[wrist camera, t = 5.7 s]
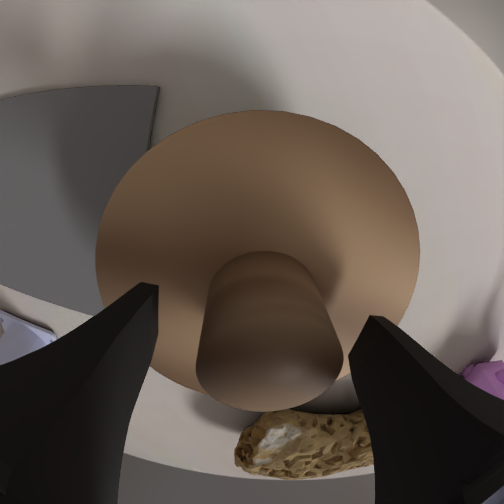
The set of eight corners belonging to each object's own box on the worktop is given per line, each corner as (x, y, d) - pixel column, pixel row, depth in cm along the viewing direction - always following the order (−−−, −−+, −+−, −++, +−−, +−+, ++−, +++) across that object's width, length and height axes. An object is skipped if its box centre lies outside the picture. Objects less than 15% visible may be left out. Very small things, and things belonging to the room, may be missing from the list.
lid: (342, 392, 14) (360, 452, 10) (116, 364, 13) (91, 427, 9) (447, 173, 9) (523, 205, 5) (116, 91, 7) (37, 78, 3)
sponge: (234, 429, 27) (370, 459, 26) (222, 481, 19) (381, 501, 19) (286, 346, 24) (433, 392, 24) (287, 402, 16) (460, 433, 16)
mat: (141, 324, 18) (140, 327, 17) (-2, 280, 16) (-4, 282, 16) (159, 87, 11) (157, 86, 11) (-13, 103, 10) (-16, 104, 9)
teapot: (480, 326, 20) (528, 388, 11) (519, 329, 22) (554, 373, 13) (394, 427, 27) (415, 484, 18) (449, 415, 29) (470, 458, 20)
